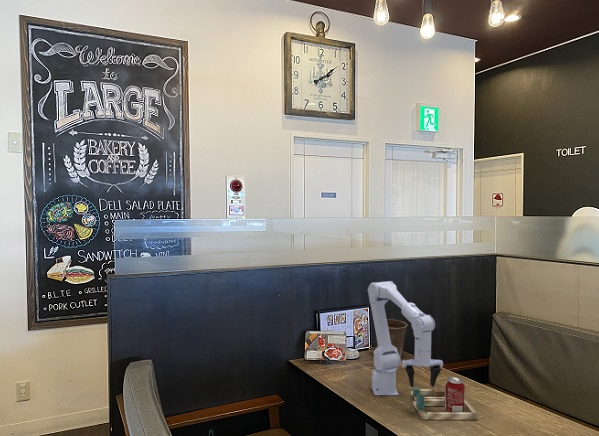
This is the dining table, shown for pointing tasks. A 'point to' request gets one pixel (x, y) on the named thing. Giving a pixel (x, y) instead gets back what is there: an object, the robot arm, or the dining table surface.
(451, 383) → the soda can
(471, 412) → the teal-tipped beige rail
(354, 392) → the dining table surface
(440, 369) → the robot arm
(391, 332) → the plant pot
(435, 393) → the walnut block
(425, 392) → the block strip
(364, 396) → the dining table surface
